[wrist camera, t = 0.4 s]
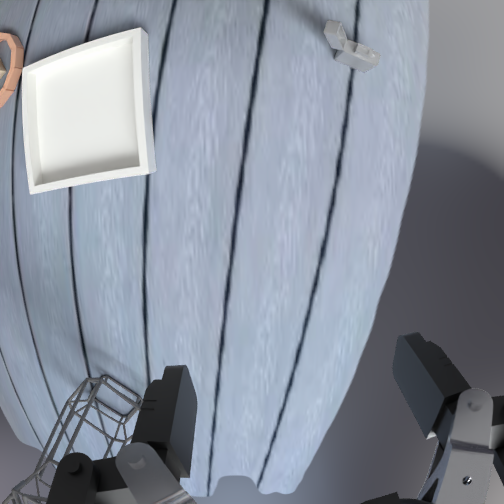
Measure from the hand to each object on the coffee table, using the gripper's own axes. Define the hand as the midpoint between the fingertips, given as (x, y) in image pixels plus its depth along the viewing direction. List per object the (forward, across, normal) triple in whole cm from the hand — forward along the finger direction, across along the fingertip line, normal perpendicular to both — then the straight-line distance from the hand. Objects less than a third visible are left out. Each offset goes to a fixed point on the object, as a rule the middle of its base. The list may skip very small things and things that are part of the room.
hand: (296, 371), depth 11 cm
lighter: (+29, -12, -17) cm, 36 cm away
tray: (+30, +20, -15) cm, 39 cm away
